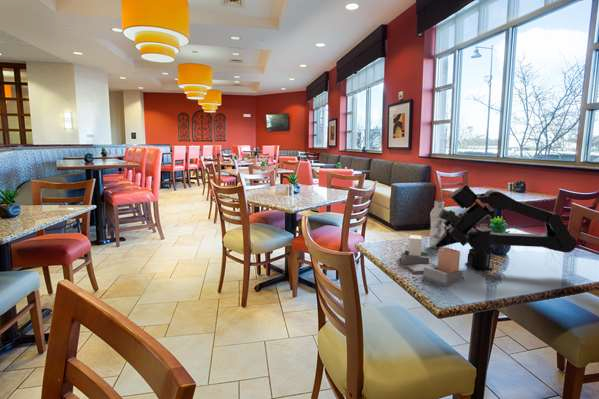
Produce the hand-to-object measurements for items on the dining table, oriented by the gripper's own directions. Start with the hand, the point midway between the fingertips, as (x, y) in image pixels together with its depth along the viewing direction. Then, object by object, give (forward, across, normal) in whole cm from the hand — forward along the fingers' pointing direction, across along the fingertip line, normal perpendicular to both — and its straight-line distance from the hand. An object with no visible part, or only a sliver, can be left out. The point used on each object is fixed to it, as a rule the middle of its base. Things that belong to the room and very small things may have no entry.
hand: (436, 246), depth 125 cm
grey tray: (+7, +8, +2) cm, 11 cm away
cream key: (+9, 0, -2) cm, 9 cm away
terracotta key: (+2, +15, +5) cm, 16 cm away
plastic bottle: (+3, -21, +6) cm, 22 cm away
